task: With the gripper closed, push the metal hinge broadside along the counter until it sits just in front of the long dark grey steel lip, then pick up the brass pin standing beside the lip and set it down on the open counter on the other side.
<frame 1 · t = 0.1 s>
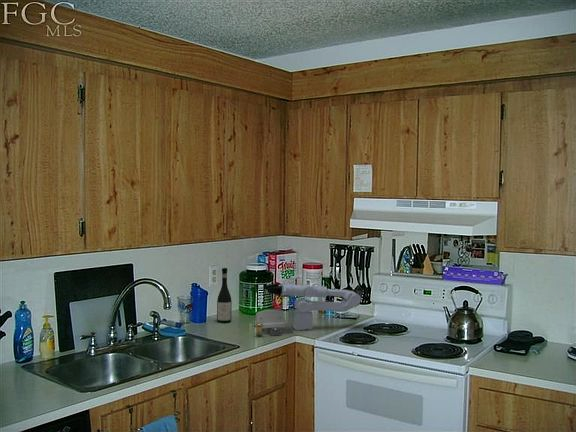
hand: (266, 288, 294), 22 cm above the countertop, tool horizontal, fingers open, 7 cm apart
wine bottle: (224, 321, 311), on the countertop
pin: (259, 336, 281), on the countertop
lip: (274, 333, 287), on the countertop
hinge: (270, 326, 302), on the countertop
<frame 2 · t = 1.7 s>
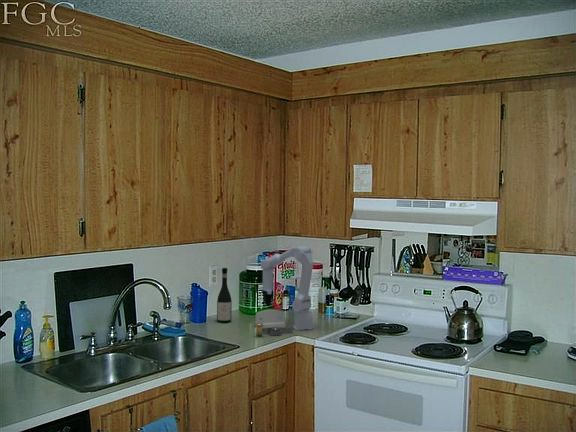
hand: (267, 304, 312), 9 cm above the countertop, tool pointing down, fingers open, 6 cm apart
nothing on the countertop moved.
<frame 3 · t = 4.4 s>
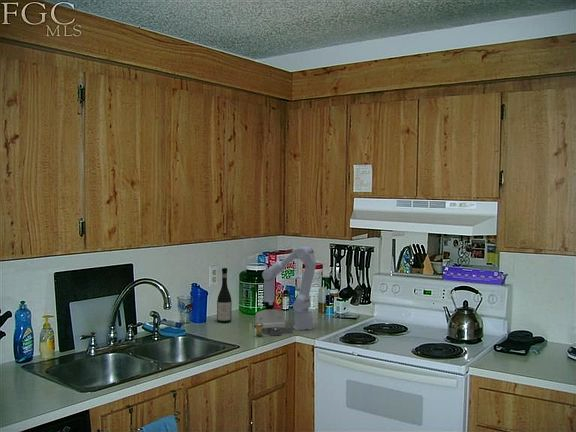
hand: (268, 315, 307), 5 cm above the countertop, tool pointing down, fingers closed
nothing on the countertop moved.
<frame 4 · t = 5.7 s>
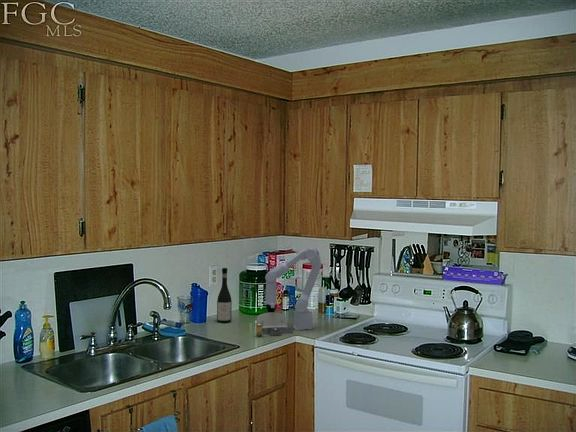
hand: (270, 318, 300), 5 cm above the countertop, tool pointing down, fingers closed
hinge: (271, 329, 295), on the countertop, touching gripper
everything else where it was.
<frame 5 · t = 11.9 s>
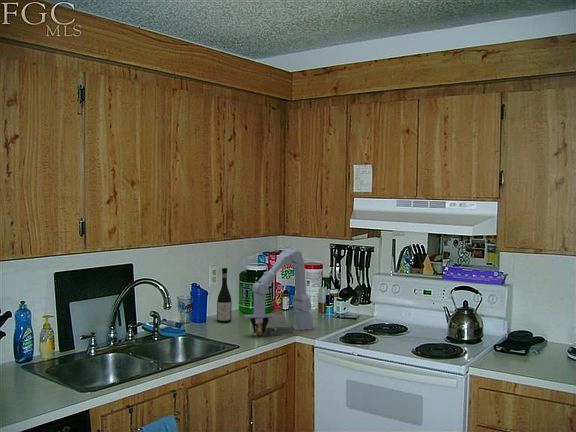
hand: (259, 332, 281), 2 cm above the countertop, tool pointing down, fingers closed on pin, 4 cm apart
pin: (259, 335, 281), on the countertop, touching gripper
hinge: (271, 331, 292), on the countertop
everything else where it was.
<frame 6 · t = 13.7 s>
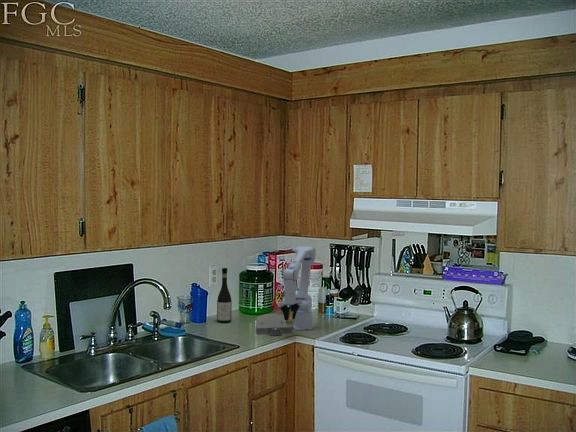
hand: (289, 319, 280), 9 cm above the countertop, tool pointing down, fingers closed on pin, 4 cm apart
pin: (289, 323, 280), point 7 cm above the countertop, touching gripper
everything else where it was.
when the fingers open (2 cm above the countertop, at t = 15.4 s): pin stays where it is, on the countertop.
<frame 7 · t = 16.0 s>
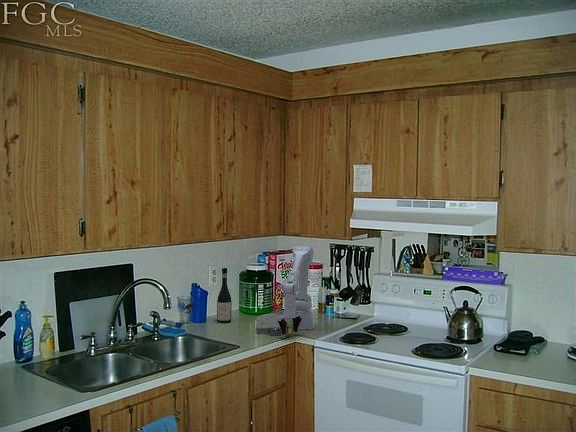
hand: (289, 333, 281), 2 cm above the countertop, tool pointing down, fingers open, 7 cm apart
pin: (288, 336, 280), on the countertop
everything else where it was.
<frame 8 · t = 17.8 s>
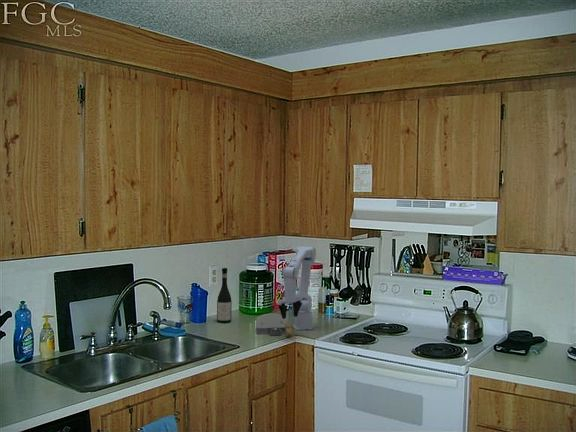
hand: (289, 317, 280), 10 cm above the countertop, tool pointing down, fingers open, 7 cm apart
nothing on the countertop moved.
at the end: hinge inside the target area (0.9 cm from its centre), on the countertop; hinge tilted 0°; pin inside the target area (0.5 cm from its centre), on the countertop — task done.
